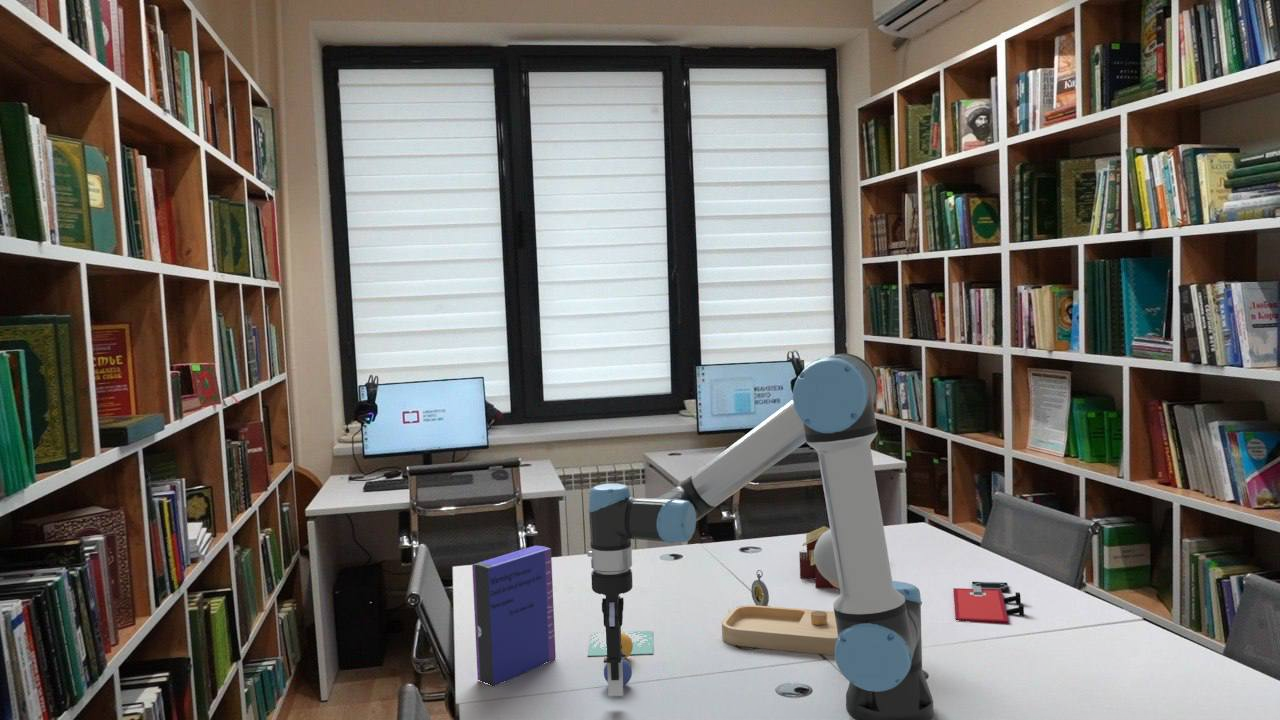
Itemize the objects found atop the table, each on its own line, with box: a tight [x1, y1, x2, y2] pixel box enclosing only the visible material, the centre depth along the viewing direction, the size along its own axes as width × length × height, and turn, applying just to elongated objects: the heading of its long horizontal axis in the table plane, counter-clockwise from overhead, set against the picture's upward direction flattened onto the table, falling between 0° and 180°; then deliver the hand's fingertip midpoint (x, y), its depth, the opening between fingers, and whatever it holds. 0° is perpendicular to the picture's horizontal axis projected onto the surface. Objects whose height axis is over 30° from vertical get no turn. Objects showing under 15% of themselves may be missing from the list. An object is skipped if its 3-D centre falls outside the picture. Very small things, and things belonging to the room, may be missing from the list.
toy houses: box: [799, 525, 838, 589], centre depth 248 cm, size 45×20×10 cm, turn 170°
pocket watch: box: [735, 569, 770, 608], centre depth 220 cm, size 8×8×10 cm
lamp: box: [721, 529, 840, 656], centre depth 203 cm, size 33×17×25 cm, turn 69°
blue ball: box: [603, 658, 633, 687], centre depth 180 cm, size 6×6×6 cm
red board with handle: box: [952, 581, 1025, 625], centre depth 222 cm, size 30×3×15 cm
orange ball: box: [621, 633, 633, 660], centre depth 194 cm, size 6×6×6 cm
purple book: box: [471, 545, 557, 687], centre depth 190 cm, size 17×5×24 cm, turn 141°
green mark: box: [587, 630, 654, 657], centre depth 203 cm, size 14×14×1 cm
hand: (615, 694), depth 171 cm, fingers closed
